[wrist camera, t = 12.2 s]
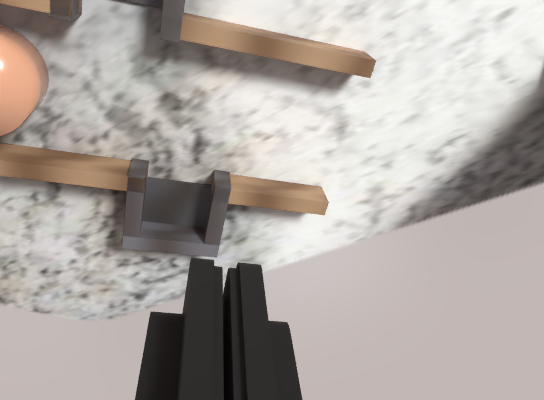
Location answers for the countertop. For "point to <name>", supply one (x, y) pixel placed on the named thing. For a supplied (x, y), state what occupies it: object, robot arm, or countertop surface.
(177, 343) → the robot arm
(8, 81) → the short salmon cylinder
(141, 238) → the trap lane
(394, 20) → the countertop surface
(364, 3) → the countertop surface
